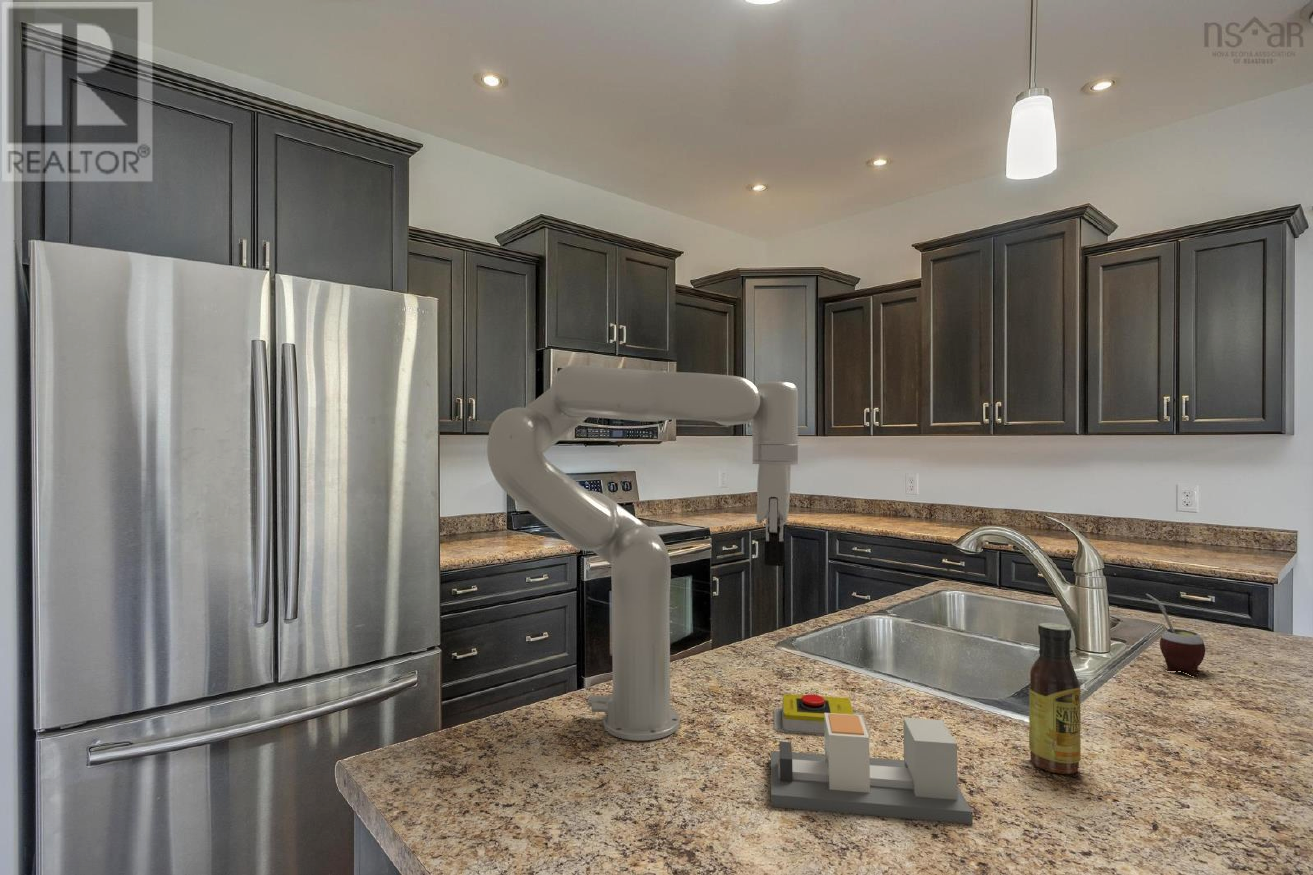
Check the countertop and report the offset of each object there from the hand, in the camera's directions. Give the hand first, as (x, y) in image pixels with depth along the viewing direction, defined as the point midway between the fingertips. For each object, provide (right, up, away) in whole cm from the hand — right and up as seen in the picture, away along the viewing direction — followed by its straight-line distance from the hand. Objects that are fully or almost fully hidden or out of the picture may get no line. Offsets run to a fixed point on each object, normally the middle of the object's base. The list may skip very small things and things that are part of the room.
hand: (774, 564), depth 108 cm
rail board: (+8, -26, -22) cm, 35 cm away
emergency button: (+7, -27, -1) cm, 28 cm away
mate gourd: (+85, -26, +21) cm, 92 cm away
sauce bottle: (+37, -26, -16) cm, 48 cm away
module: (+6, -24, -22) cm, 33 cm away
